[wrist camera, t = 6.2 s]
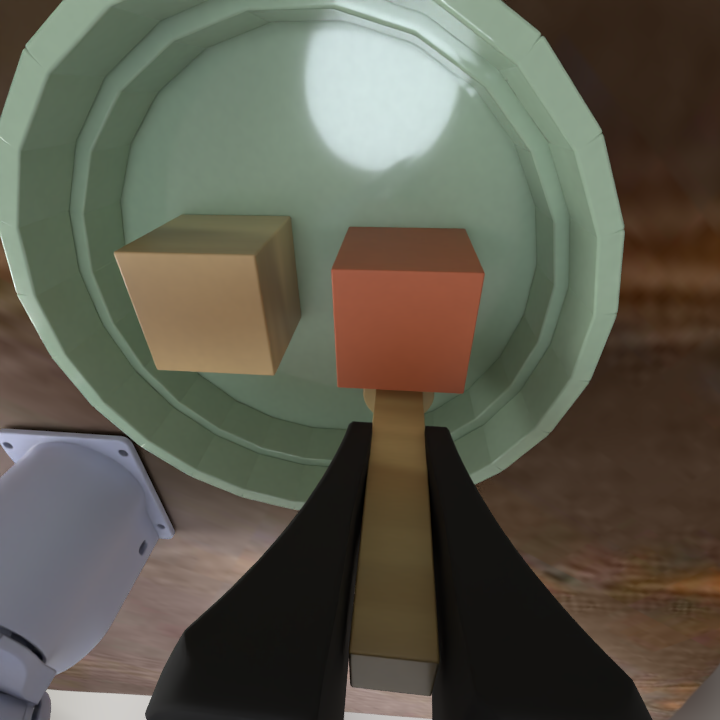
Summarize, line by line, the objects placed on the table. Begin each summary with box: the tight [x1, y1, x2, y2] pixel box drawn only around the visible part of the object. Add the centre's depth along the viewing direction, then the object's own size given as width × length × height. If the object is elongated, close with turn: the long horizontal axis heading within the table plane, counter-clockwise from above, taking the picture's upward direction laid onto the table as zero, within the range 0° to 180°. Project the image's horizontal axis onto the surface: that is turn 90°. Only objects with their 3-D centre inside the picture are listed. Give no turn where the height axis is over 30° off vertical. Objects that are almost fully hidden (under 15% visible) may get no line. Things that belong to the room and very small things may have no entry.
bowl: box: [0, 0, 625, 510], centre depth 14 cm, size 17×17×5 cm
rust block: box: [331, 227, 485, 394], centre depth 13 cm, size 4×4×4 cm
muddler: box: [349, 389, 440, 696], centre depth 11 cm, size 3×3×10 cm
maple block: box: [114, 214, 301, 376], centre depth 13 cm, size 4×4×4 cm
